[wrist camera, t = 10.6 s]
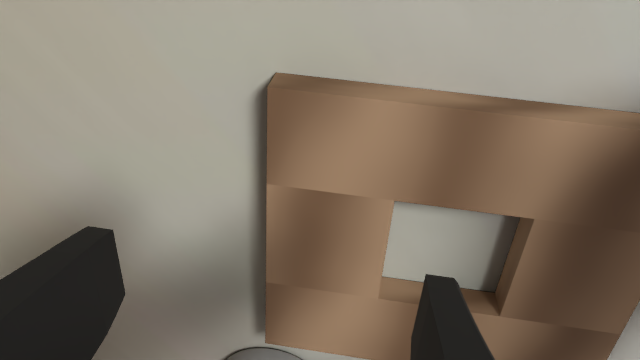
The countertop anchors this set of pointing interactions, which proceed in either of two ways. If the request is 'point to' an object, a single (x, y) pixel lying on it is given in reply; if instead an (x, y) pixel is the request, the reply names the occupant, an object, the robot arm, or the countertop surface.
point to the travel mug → (262, 355)
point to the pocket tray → (452, 192)
